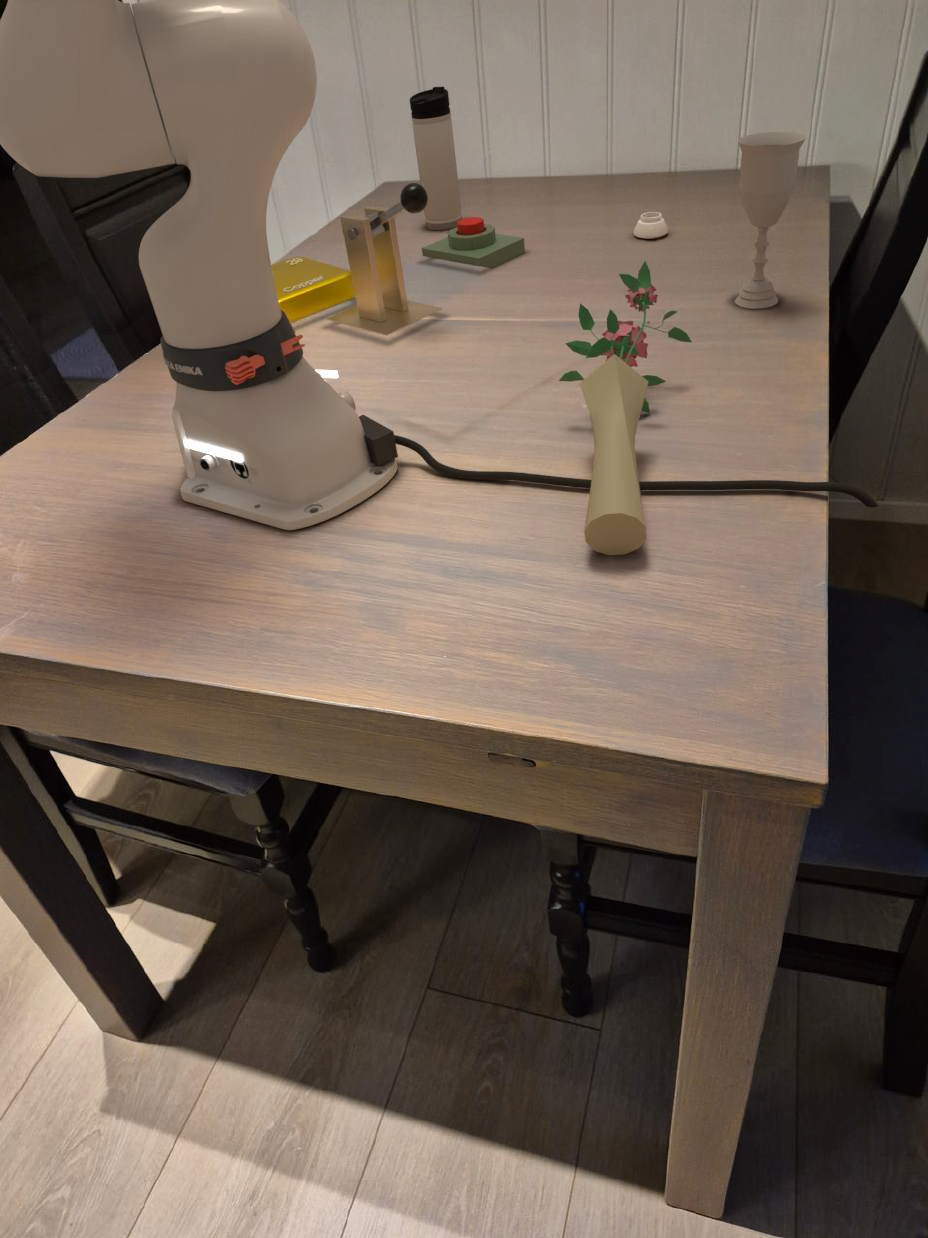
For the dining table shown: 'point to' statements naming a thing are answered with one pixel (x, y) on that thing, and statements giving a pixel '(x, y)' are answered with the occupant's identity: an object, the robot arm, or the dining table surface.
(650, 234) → the white jar
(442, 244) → the button block
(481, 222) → the button
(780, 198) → the chalice
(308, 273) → the element tile
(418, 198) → the lever
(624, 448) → the flower vase
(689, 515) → the dining table surface
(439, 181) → the travel mug
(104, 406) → the dining table surface
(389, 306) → the bracket
